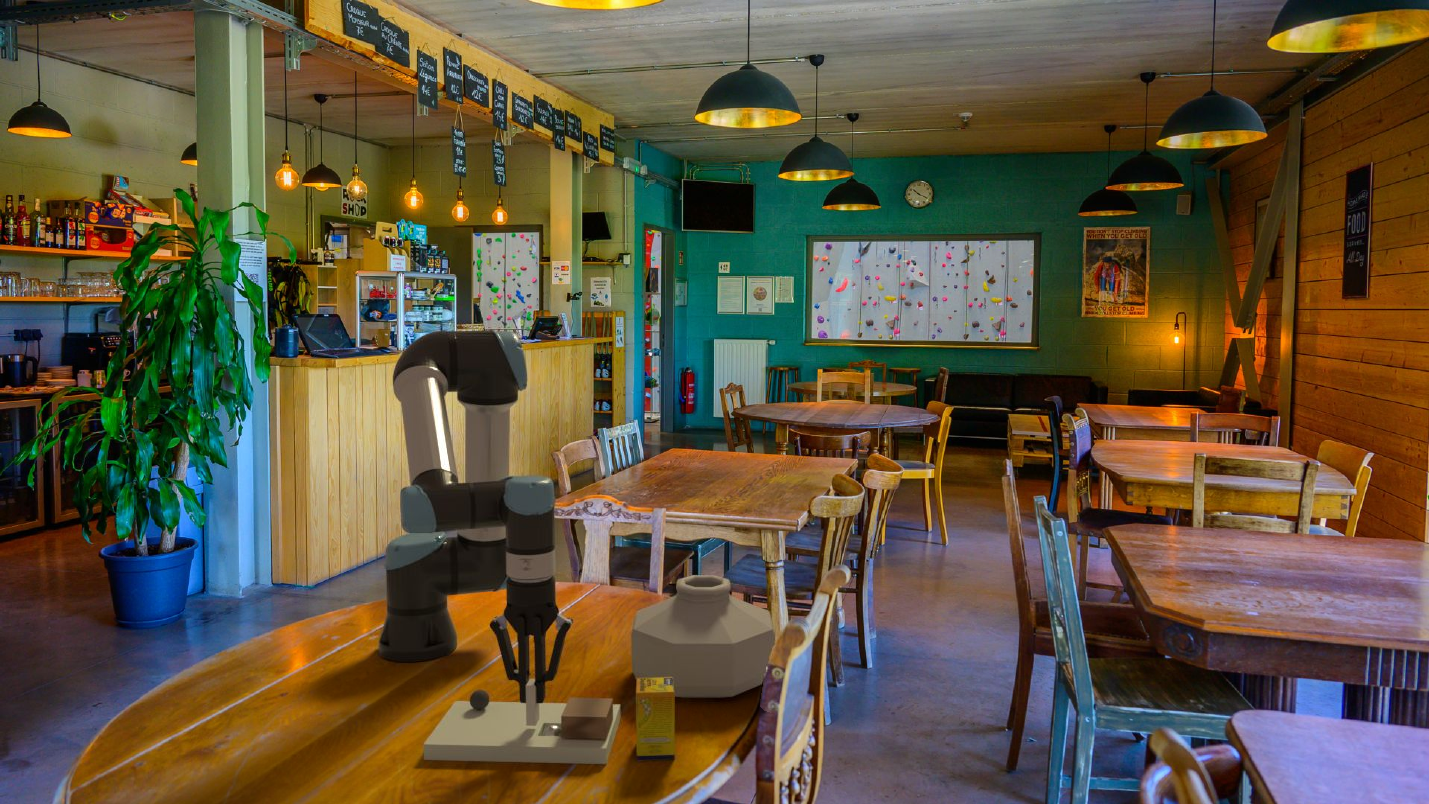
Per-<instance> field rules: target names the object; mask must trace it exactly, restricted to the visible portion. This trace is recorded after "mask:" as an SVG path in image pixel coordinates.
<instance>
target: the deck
mask: <svg viewBox="0 0 1429 804" xmlns="http://www.w3.org/2000/svg"><path fill="white" fill-rule="evenodd" d="M566 705H567V702H566V703H563V702H561V703H560V702H543V703H539V720H538V722H537V724H536V726H526V703H521V702H520V701H517V702H516V701H515V702H513V701H508V702H507V701H489V704H488V705H487V707H486V708H484V709H482V710H476V709H474V708H473V707H472V706H471V705H470V700H468V701H467V700H456V701H454V703H453V704H452V705H451V707H450V708H449V709H448V710H447V711H446V713H445V715H444V716H443V718H441V720H440V721H439V723H438V724H437V725H436V726H435V728H434V729H433V731H432V732H431V733H430V735H429V736H428V738H427V739H426V740H425V741H424V743H423V760H424V761H450V762H451V761H453V762H454V761H459V762H460V761H461V762H495V763H496V762H497V763H500V762H502V763H505V762H506V763H535V764H537V763H539V764H540V763H543V764H545V763H547V764H577V765H578V764H582V765H583V764H585V765H588V764H589V765H597V764H598V765H607V763H608V760H609V756H610V754H611V750H612V747H613V744H614V740H615V737H616V734H617V731H618V728H619V725H620V721H621V704H619V703H618V704H614V703H613V721H612V724H611V727H610V730H609V733H608V736H607V739H583V738H561V736H542V733H543V731H544V729H545V728H546V727H547V726H549V725H556V726H558V727H560V729H561V716H562V713H563V711H564V709H565V707H566Z"/></svg>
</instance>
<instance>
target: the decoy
mask: <svg viewBox="0 0 1429 804" xmlns="http://www.w3.org/2000/svg"><path fill="white" fill-rule="evenodd" d="M469 701H470V705H471V706H472V707H473V708H474V709H476V710H482V709H484V708H486V707H487V705H488V704H489V702H490V694H489V693H488V692H487V691H486V690H484V689H477V690H475V691H473V692H472V694H470V697H469Z"/></svg>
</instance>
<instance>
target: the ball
mask: <svg viewBox="0 0 1429 804" xmlns="http://www.w3.org/2000/svg"><path fill="white" fill-rule="evenodd" d="M542 736H561V729H560V727H558V726H556V725H549V726H547V727H546V728H545V729H544V731H543V733H542Z"/></svg>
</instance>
